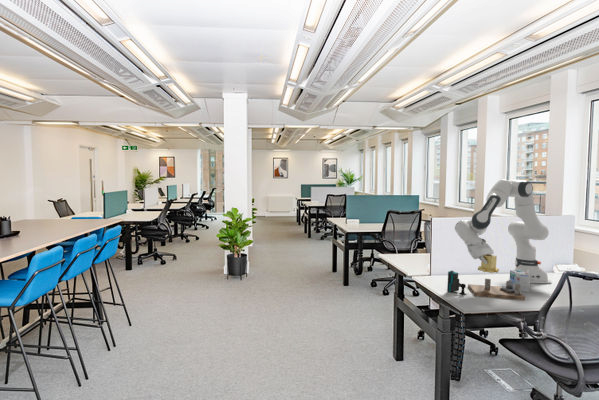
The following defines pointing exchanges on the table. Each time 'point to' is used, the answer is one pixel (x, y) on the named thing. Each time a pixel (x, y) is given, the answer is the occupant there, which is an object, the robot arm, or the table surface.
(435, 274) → the table surface
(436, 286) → the table surface
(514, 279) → the light bulb box
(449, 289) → the surveillance camera
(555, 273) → the table surface
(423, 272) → the table surface
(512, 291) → the gear
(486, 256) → the yellow flanged housing
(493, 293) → the walnut board
